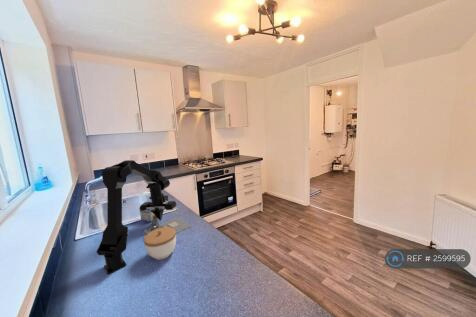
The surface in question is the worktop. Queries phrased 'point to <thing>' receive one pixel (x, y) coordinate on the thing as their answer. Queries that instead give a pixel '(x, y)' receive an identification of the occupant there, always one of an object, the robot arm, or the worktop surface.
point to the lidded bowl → (160, 242)
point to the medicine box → (146, 215)
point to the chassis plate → (172, 225)
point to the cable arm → (154, 223)
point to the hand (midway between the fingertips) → (160, 220)
